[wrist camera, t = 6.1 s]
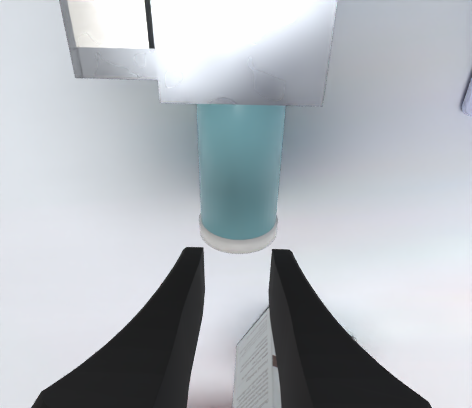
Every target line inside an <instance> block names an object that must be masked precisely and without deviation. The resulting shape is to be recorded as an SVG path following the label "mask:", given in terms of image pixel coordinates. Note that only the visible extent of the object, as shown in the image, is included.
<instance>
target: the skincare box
mask: <svg viewBox="0 0 472 408" xmlns="http://www.w3.org/2000/svg"><path fill="white" fill-rule="evenodd" d="M353 339H354V338H353ZM354 340H355V339H354ZM232 408H281V394H280V382H279V374H278V368H277V361H276V355H275V348H274V342H273V335H272V329H271V322H270V312H269V308H268V309H267V310H266V311H265V313H264V314H263V315H262V316H261V317H260V319H259V320H258V321H257V322H256V323H255V324H254V326H253V327H252V328H251V329H250V330H249V331H248V333H247V334H246V335H245V336H244V337H243V339H242V340H241V341H240V342H239V343H238V344H237V346H236V360H235V375H234V390H233V405H232Z"/></svg>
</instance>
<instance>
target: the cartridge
mask: <svg viewBox="0 0 472 408" xmlns="http://www.w3.org/2000/svg"><path fill="white" fill-rule="evenodd" d="M196 105H197V129H198V154H199V178H200V203H201V213H200V216H199V224H200V235H201V237H202V239H203V240H204V241H205V243H207V244H208V245H209V246H211V247H212V248H214V249H216V250H219V251H222V252H226V253H233V254H245V253H252V252H256V251H259V250H262V249H264V248H266V247H267V246H269V245H270V244H271V243H272V242H273V241H274V239H275V237H276V233H277V223H278V218H277V215H276V212H277V201H278V190H279V178H280V167H281V156H282V144H283V133H284V121H285V110H286V106H277V105H230V104H196Z"/></svg>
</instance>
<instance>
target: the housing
mask: <svg viewBox="0 0 472 408" xmlns="http://www.w3.org/2000/svg"><path fill="white" fill-rule="evenodd" d="M337 1H338V0H150V2H151V13H152V24H153V34H154V45H153V46H152V47H150V48H149V49H144V48H95V47H76V42H75V37H74V32H73V27H72V22H71V17H70V12H69V7H68V2H67V0H59V2H60V7H61V11H62V16H63V21H64V26H65V31H66V36H67V40H68V45H69V50H70V55H71V60H72V65H73V69H74V74H75V78H99V79H146V80H158V88H159V99H160V103H183V104H230V105H277V106H323V100H324V93H325V86H326V79H327V72H328V65H329V58H330V51H331V44H332V37H333V30H334V22H335V15H336V8H337Z"/></svg>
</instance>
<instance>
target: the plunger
mask: <svg viewBox="0 0 472 408" xmlns="http://www.w3.org/2000/svg"><path fill="white" fill-rule="evenodd" d="M67 2H68V7H69V12H70V17H71V22H72V27H73V32H74V37H75V42H76V47H95V48H144V49H149V48H150V47H152V46H153V45H154V34H153V24H152V13H151V2H150V0H67Z"/></svg>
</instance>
